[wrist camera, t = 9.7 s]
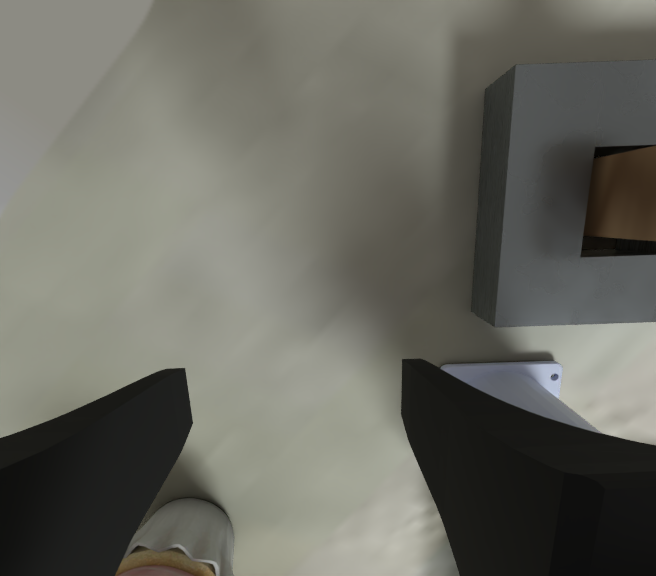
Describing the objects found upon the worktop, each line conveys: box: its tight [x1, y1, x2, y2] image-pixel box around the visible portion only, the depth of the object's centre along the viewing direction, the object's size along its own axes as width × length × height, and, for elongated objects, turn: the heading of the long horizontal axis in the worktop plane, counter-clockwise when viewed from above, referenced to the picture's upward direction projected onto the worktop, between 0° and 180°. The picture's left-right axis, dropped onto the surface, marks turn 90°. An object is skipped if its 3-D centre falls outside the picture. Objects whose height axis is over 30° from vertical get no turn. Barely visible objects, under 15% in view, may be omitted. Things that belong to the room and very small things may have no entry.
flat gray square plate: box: [471, 60, 656, 327], centre depth 18 cm, size 13×13×3 cm
